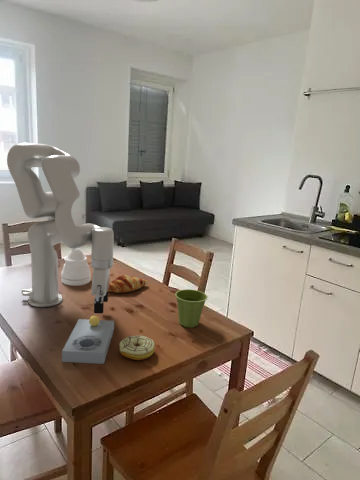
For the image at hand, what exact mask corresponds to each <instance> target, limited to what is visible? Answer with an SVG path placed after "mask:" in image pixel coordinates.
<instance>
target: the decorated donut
mask: <svg viewBox="0 0 360 480" xmlns="http://www.w3.org/2000/svg"><path fill="white" fill-rule="evenodd" d="M155 347H156V345H155V341H154V340H153V339H152V338H150V337H148V336H146V335H130V336H127V337H125V338H123V339H122V340H121V341H120V342H119V353H120V354H121V356H123V357H125V358H127V359H130V360H133V361H134V360H136V361H141V360H146V359H148V358H150V357H151V356H152V355H153V354H154V352H155V349H156V348H155Z"/></svg>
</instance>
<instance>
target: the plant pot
mask: <svg viewBox="0 0 360 480" xmlns="http://www.w3.org/2000/svg"><path fill="white" fill-rule="evenodd" d="M174 297H175V298H176V302H177V310H178V313H177V314H178V322H179V323H178V324H179V325H181V326H183V327H184V328H195V327H197V326H199V323H200V321H201V320H200V319H201V316H202V314H203V313H202V312H203V309H204V306H205V303H206V301H207V300H208V298H209V296H208V294H206V293H204V291H203V292H202V291H200V290H197V289H190V288H189V289H188V288H187V289H179V290H177V291H176V292H175V296H174Z"/></svg>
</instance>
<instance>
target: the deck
mask: <svg viewBox="0 0 360 480" xmlns="http://www.w3.org/2000/svg"><path fill="white" fill-rule="evenodd" d="M114 331H115V320H107V319H106V320H104V319H103V320H102V319H100V322H99V324H98V325H97V326H92V325H90V323H89V319H88V318H87V319H85V318H84V319H83V318H79V319H78V320H77V322H76V324H75V326H74V328H73V329H72V331H71V333H70V335H69V337H68V339H67V341H66V342H65V345H64V346H63V348H62V350H61V361H62V363H78V364H79V363H81V364H82V363H83V364H98V365H99V364H100V365H102V364H103V365H104V364H105V361H106V358H107V354H108V351H109V348H110V344H111V342H112V341H111V340H112V338H113V335H114Z"/></svg>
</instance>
